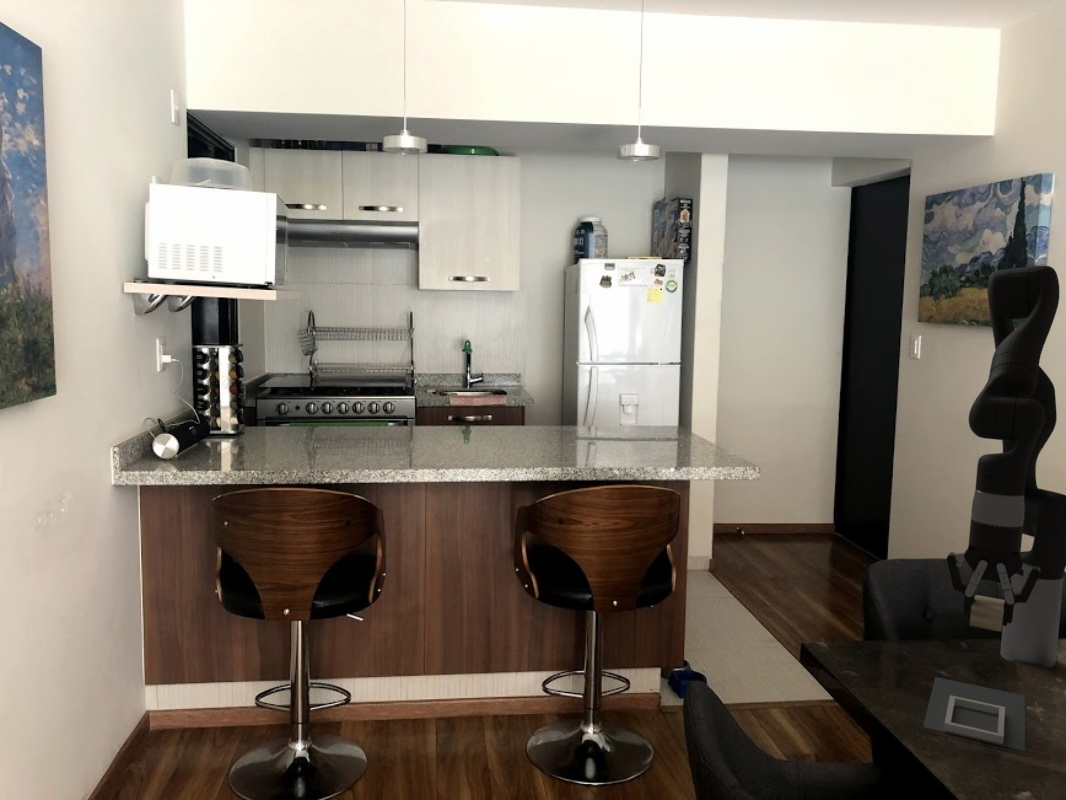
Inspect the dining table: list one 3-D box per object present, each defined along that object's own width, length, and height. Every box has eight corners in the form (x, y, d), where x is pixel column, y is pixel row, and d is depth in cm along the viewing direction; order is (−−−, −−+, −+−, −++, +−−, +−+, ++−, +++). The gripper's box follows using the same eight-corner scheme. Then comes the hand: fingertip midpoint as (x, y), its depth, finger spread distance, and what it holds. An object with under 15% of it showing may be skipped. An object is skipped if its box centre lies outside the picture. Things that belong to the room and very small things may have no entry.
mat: (934, 681, 155) (935, 676, 155) (1024, 700, 149) (1024, 695, 148) (922, 731, 136) (923, 726, 136) (1024, 756, 129) (1025, 751, 129)
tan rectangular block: (1001, 631, 138) (1002, 613, 137) (969, 625, 140) (971, 607, 140) (1004, 617, 145) (1005, 600, 144) (974, 612, 147) (975, 594, 147)
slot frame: (949, 702, 145) (950, 695, 145) (1004, 714, 141) (1004, 707, 141) (943, 730, 135) (944, 723, 135) (1002, 744, 131) (1003, 736, 131)
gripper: (945, 516, 141) (936, 618, 143) (1047, 530, 134) (1036, 638, 135) (951, 508, 148) (942, 606, 149) (1048, 521, 140) (1038, 624, 142)
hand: (987, 620), depth 142 cm, fingers closed on tan rectangular block, 4 cm apart
